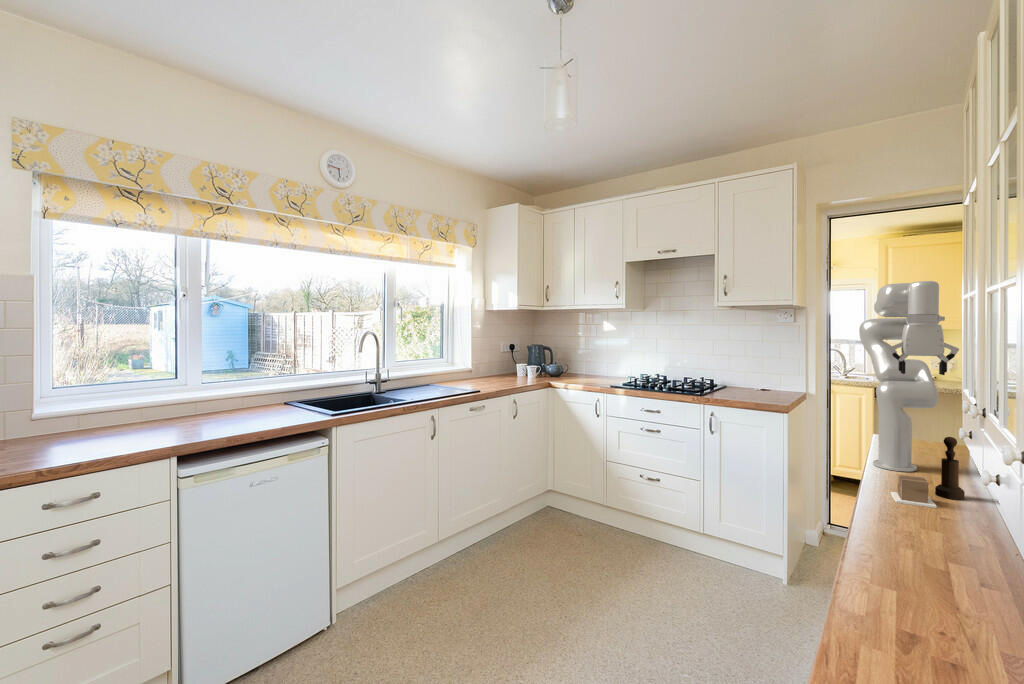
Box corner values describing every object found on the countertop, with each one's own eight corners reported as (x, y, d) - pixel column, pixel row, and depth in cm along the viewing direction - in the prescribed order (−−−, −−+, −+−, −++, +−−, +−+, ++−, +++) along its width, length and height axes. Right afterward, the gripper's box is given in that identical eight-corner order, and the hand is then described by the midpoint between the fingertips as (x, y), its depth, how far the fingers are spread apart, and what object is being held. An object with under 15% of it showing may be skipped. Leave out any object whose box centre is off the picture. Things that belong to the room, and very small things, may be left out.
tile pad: (890, 493, 149) (890, 491, 149) (928, 498, 144) (928, 496, 144) (896, 502, 141) (896, 500, 141) (936, 508, 137) (936, 506, 136)
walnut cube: (897, 493, 147) (897, 474, 147) (923, 497, 144) (923, 477, 144) (901, 499, 142) (901, 479, 141) (928, 503, 139) (928, 482, 138)
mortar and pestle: (952, 493, 149) (953, 435, 149) (970, 500, 143) (971, 439, 142) (929, 492, 150) (930, 434, 149) (946, 499, 143) (947, 439, 143)
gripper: (955, 320, 153) (954, 374, 153) (886, 321, 161) (886, 372, 162) (962, 319, 146) (961, 376, 147) (890, 320, 155) (890, 374, 155)
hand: (922, 374), depth 154 cm, fingers open, 9 cm apart
